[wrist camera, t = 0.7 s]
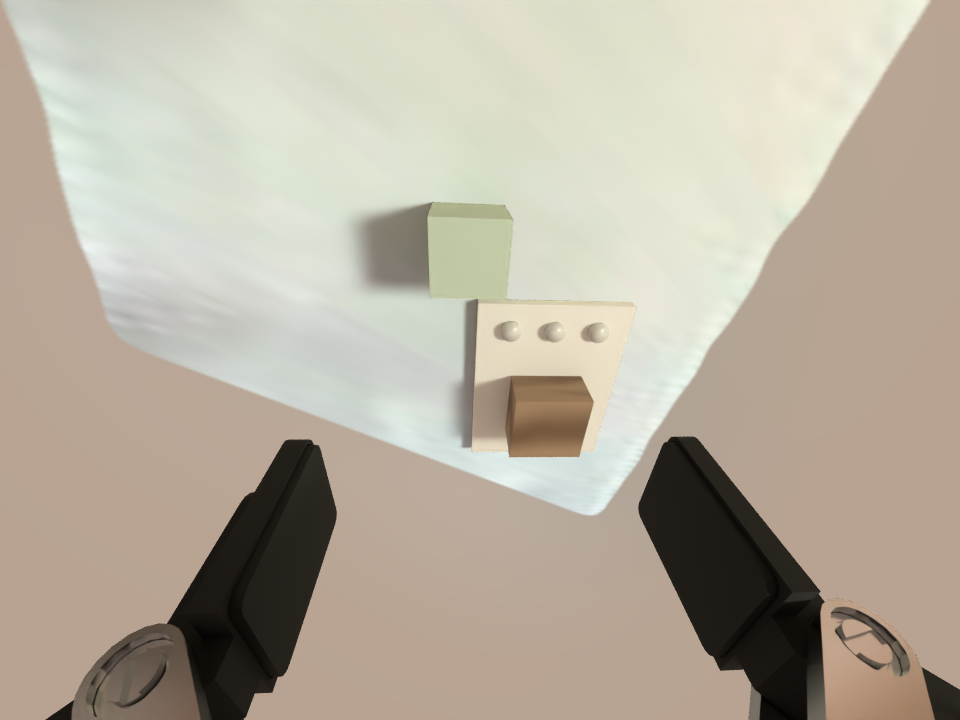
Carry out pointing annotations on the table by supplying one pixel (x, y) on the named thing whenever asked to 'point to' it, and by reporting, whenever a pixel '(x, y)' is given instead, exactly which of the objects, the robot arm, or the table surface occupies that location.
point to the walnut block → (547, 416)
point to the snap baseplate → (544, 356)
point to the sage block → (469, 250)
